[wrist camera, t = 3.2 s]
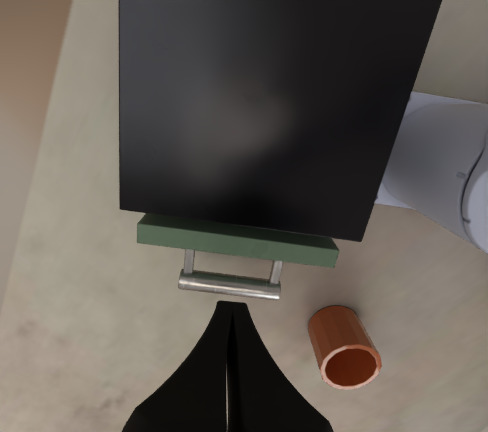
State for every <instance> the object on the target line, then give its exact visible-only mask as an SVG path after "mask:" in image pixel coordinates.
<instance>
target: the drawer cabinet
mask: <svg viewBox="0 0 488 432" xmlns="http://www.w3.org/2000/svg"><path fill="white" fill-rule="evenodd" d="M441 2H442V0H119V182H120V209H121V210H128V211H135V212H143V213H150V214H158V215H165V216H172V217H180V218H187V219H195V220H202V221H209V222H217V223H224V224H232V225H239V226H246V227H254V228H261V229H269V230H276V231H283V232H291V233H298V234H306V235H313V236H321V237H328V238H335V239H343V240H350V241H358V242H361V241H362V239H363V236H364V233H365V230H366V227H367V224H368V221H369V218H370V215H371V212H372V209H373V206H374V203H375V200H376V197H377V194H378V191H379V188H380V185H381V182H382V179H383V176H384V173H385V170H386V167H387V164H388V161H389V158H390V155H391V152H392V149H393V146H394V143H395V140H396V137H397V134H398V131H399V128H400V125H401V122H402V119H403V116H404V113H405V110H406V107H407V104H408V101H409V98H410V95H411V92H412V89H413V86H414V83H415V80H416V77H417V74H418V71H419V68H420V65H421V62H422V59H423V56H424V53H425V50H426V47H427V44H428V41H429V38H430V35H431V32H432V29H433V26H434V23H435V20H436V17H437V14H438V11H439V8H440V5H441Z"/></svg>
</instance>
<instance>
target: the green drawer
mask: <svg viewBox="0 0 488 432" xmlns="http://www.w3.org/2000/svg"><path fill="white" fill-rule="evenodd" d="M137 243H142V244H150V245H158V246H165V247H173V248H181V249H185V259H184V269H182V270H181V272H180V277H179V284H178V288H179V289H183V290H192V291H200V292H209V293H217V294H226V295H234V296H243V297H251V298H259V299H268V300H276V301H277V300H278V299H279V297H280V291H281V284H280V281H279V278H280V273H281V269H282V265H283V262H291V263H298V264H306V265H314V266H322V267H330V268H334V267H335V264H336V260H337V257H338V254H339V249H338V247H337V246H336V244H335V243H334V241H333V240H332V239H331V238H328V237H321V236H313V235H306V234H298V233H291V232H283V231H276V230H269V229H261V228H254V227H246V226H239V225H232V224H224V223H217V222H209V221H202V220H195V219H187V218H180V217H172V216H165V215H158V214H150V213H146V214H145V215H144V217H143V218H142V219H141V220H140V221H139V222H138V224H137ZM195 250H197V251H205V252H212V253H220V254H228V255H236V256H244V257H251V258H259V259H267V260H273V263H272V268H271V272H270V277H269V279H263V278H254V277H246V276H238V275H230V274H222V273H214V272H206V271H198V270H193V266H194V257H195Z"/></svg>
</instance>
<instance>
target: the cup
mask: <svg viewBox="0 0 488 432" xmlns="http://www.w3.org/2000/svg"><path fill="white" fill-rule="evenodd" d="M308 332H309V336H310V339H311V343H312V346H313V349H314V353H315V356H316V359H317V363H318V366H319V369H320V373H321V376H322V379H323V380H324V381H325V382H326V383H327V384H329V385H330V386H331V387H335V388H338V389H343V390H345V389H357V388H359V387H362V386H364V385H367V384H369V383H370V382H371V381H372V380H373V379H374V378H376V377H377V376H378V373H379V371H380V369H381V367H382V364H381V358H380V355H379V353H378V351H377V349H376V348H375V346H374V344H373V342H372V340H371V339H370V337H369V335H368V333H367V331H366V330H365V328H364V326H363V324H362V322H361V321H360V319H359V318H358V316H357V315H356V314H355V312H353V311H352V310H351V309H349V308H347V307H343V306H330V307H326V308H324V309H322V310H320V311H318V312H317V313H316V314H315V315H314V316H313V317H312V318H311V320H310V322H309V325H308Z"/></svg>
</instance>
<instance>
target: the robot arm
mask: <svg viewBox="0 0 488 432" xmlns="http://www.w3.org/2000/svg"><path fill="white" fill-rule="evenodd" d="M375 203H376V204H383V205H390V206H396V207H403V208H410V209H415V210H416V211H418V212H420V213H421V214H423V215H425V216H426V217H428V218H430V219H431V220H433V221H434V222H436V223H438V224H439V225H441V226H443V227H444V228H446V229H448V230H449V231H451V232H453V233H454V234H456V235H457V236H459V237H461V238H462V239H464V240H466V241H467V242H469V243H471V244H472V245H474V246H476V247H477V248H479V249H481V250H482V251H484V252H485V253H487V254H488V104H484V103H478V102H472V101H467V100H461V99H455V98H449V97H443V96H438V95H432V94H426V93H420V92H415V91H412V92H411V95H410V98H409V101H408V104H407V107H406V110H405V113H404V116H403V119H402V122H401V125H400V128H399V131H398V134H397V137H396V140H395V143H394V146H393V149H392V152H391V155H390V158H389V161H388V164H387V167H386V170H385V173H384V176H383V179H382V182H381V185H380V188H379V191H378V194H377V197H376V200H375ZM226 364H227V390H228V426H227V414H226ZM122 432H333V429H332V427H331V425H330V423H329V421H328V420H327V419H326V418H325V417H324V416H323V415H321V414H320V413H319V412H318V411H317V410H316V409H315V408H314V407H313V406H311V405H310V404H309V403H308V402H307V401H306V400H305V399H304V397H303V396H302V395H301V394H300V393H299V392H298V391H297V390H296V389H295V387H294V386H293V385H292V384H291V383H290V382H289V380H288V379H287V378H286V377H285V375H284V374H283V373H282V371H281V370H280V369H279V367H278V366H277V364H276V363H275V361H274V360H273V358H272V357H271V355H270V354H269V352H268V350H267V349H266V347H265V345H264V343H263V342H262V340H261V338H260V336H259V334H258V332H257V330H256V328H255V325H254V323H253V321H252V318H251V316H250V313H249V310H248V307H247V305H246V303H240V302H230V301H218V302H217V305H216V309H215V311H214V314H213V316H212V318H211V320H210V322H209V324H208V326H207V328H206V330H205V332H204V333H203V335H202V336H201V338H200V340H199V341H198V343H197V344H196V346H195V347H194V349H193V350H192V351H191V353H190V354H189V355H188V357H187V358H186V359H185V360H184V362H183V363H182V364H181V365H180V366H179V368H178V369H177V370H176V371H175V372H174V373H173V374H172V375H171V376H170V377H169V378H168V379H167V380H166V381H165V382H164V383H163V384H162V385H161V386H160V387H159V388H158V389H157V390H156V391H155V392H154V393H153V394H152V395H150V396H149V397H148V398H147V399H146V400H144V401H143V402H142V403H141V404H140V405H139V406H137V407H136V408H135V410H134V411H133V413H132V415H131V416H130V418H129V419H128V421H127V423H126V425H125V426H124V428H123V430H122Z"/></svg>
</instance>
